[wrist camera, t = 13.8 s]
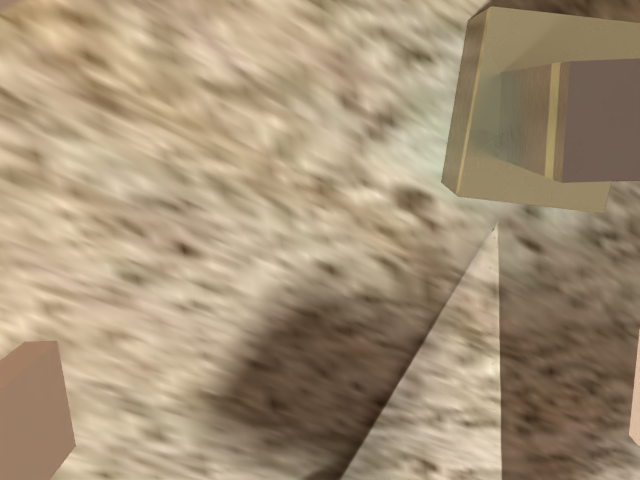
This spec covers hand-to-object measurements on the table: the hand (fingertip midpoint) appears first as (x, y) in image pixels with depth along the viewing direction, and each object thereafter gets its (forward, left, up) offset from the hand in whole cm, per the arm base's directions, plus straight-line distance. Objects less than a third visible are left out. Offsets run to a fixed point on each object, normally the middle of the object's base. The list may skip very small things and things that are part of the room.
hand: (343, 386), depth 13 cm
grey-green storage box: (+12, -6, -29) cm, 32 cm away
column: (+12, -6, -23) cm, 26 cm away
